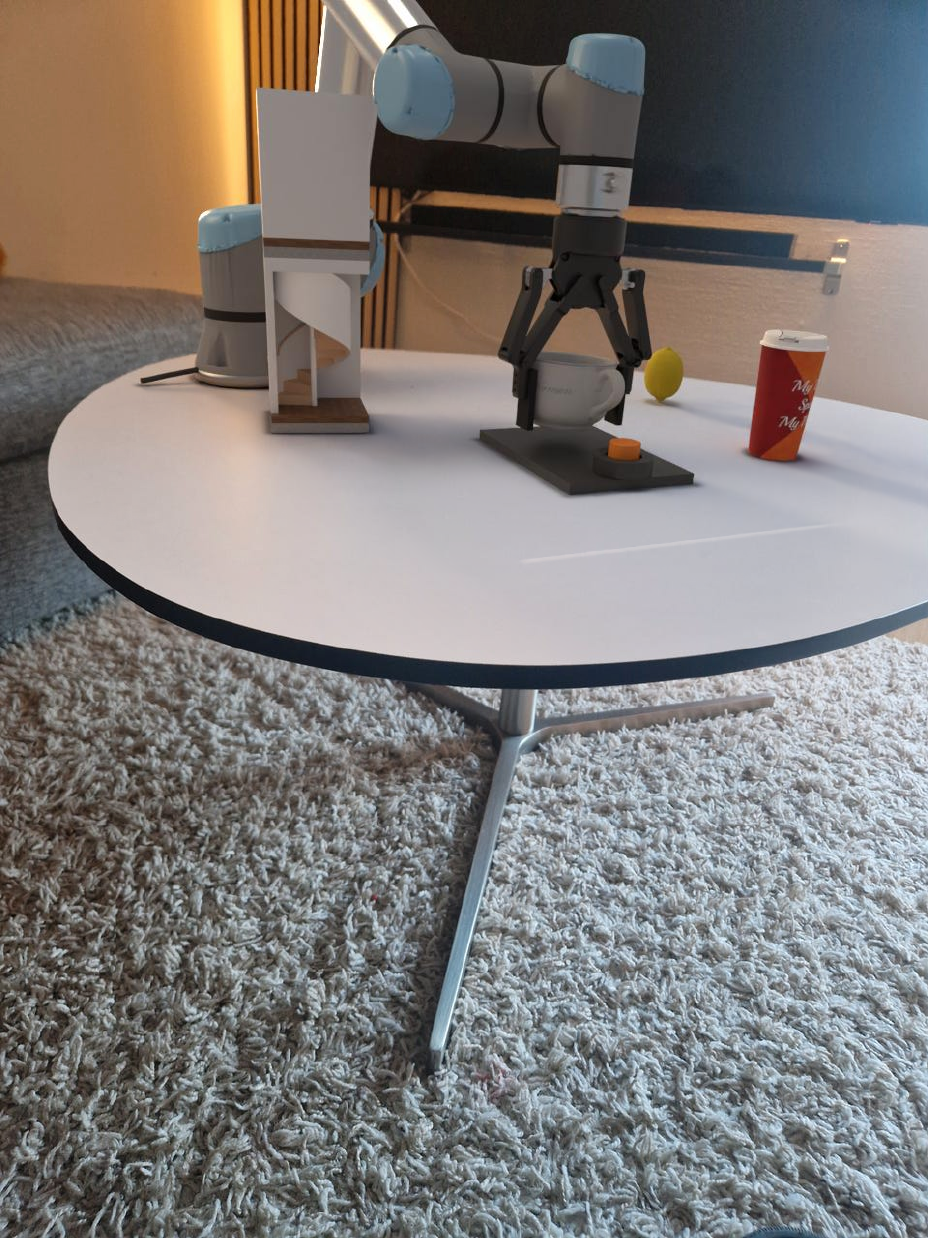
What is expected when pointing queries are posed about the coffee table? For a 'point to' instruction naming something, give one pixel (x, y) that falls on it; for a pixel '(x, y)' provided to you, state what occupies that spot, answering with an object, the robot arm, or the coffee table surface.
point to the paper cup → (785, 391)
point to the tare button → (624, 449)
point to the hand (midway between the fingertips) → (569, 425)
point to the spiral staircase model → (314, 254)
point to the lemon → (663, 374)
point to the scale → (583, 460)
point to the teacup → (575, 390)
